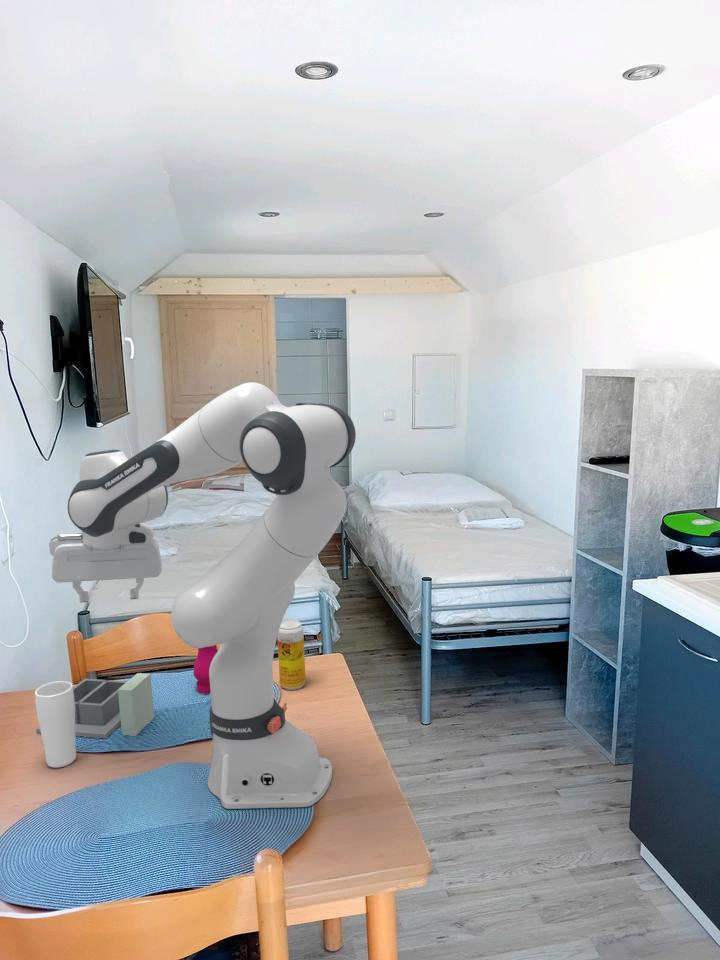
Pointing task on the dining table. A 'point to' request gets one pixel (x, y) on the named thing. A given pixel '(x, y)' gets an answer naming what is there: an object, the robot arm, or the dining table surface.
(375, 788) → the dining table surface
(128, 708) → the rectangular block
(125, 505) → the robot arm
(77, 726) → the dish rack
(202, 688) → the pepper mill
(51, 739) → the drinking glass
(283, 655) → the beer can
